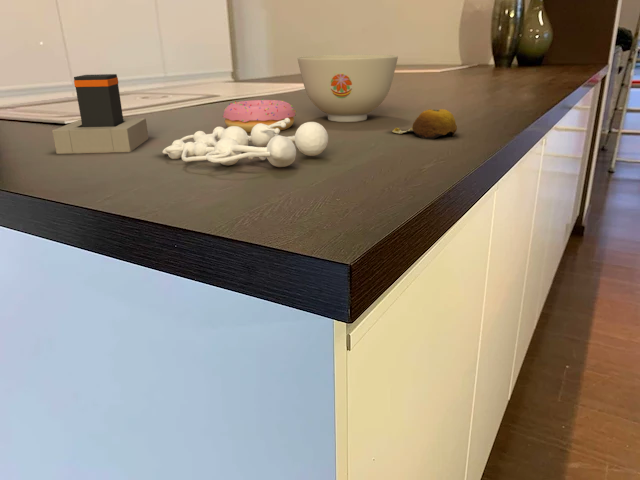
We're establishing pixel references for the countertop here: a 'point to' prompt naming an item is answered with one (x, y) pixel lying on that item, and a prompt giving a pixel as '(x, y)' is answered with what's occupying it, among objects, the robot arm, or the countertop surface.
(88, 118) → the black orange-banded block
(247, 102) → the doughnut
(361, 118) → the bowl
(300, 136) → the tangled rod sculpture
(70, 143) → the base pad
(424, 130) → the fruit
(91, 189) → the countertop surface
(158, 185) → the countertop surface
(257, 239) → the countertop surface
